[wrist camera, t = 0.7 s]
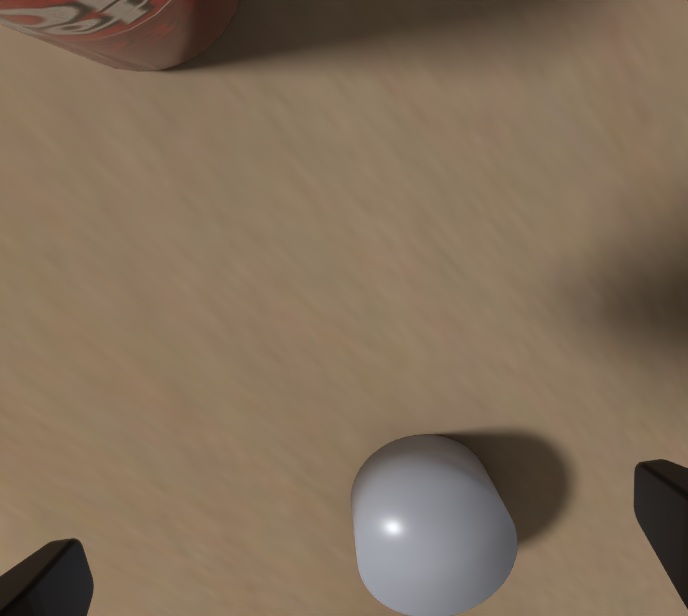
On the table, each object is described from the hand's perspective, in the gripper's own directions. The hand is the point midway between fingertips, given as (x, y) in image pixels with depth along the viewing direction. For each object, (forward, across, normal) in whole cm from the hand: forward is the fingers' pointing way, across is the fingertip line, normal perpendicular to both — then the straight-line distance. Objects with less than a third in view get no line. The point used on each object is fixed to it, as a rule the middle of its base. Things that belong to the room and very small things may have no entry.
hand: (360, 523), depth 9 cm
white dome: (+13, -2, +9) cm, 16 cm away
